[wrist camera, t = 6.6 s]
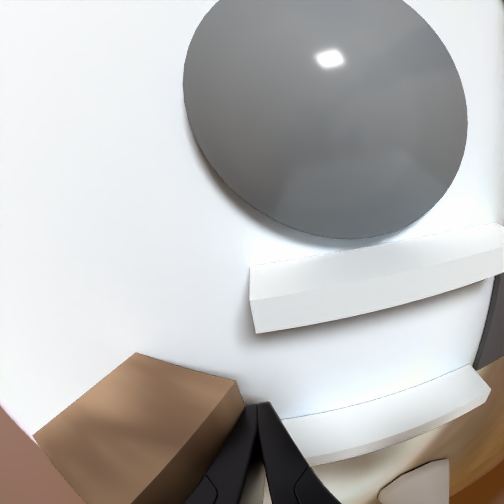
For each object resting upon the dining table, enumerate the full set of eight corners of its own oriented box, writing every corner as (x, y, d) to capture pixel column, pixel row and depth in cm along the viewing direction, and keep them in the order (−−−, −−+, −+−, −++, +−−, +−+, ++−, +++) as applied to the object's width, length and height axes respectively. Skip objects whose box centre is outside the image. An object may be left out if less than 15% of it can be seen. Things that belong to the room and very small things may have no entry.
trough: (495, 222, 9) (532, 237, 6) (464, 376, 11) (485, 402, 9) (250, 266, 9) (249, 300, 7) (281, 431, 12) (284, 470, 10)
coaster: (419, -7, 6) (425, -13, 5) (468, 216, 9) (477, 218, 8) (173, -7, 6) (169, -14, 6) (217, 256, 9) (215, 263, 9)
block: (235, 380, 8) (108, 524, 3) (264, 457, 9) (190, 561, 5) (135, 352, 10) (32, 435, 6) (177, 426, 12) (104, 501, 7)
